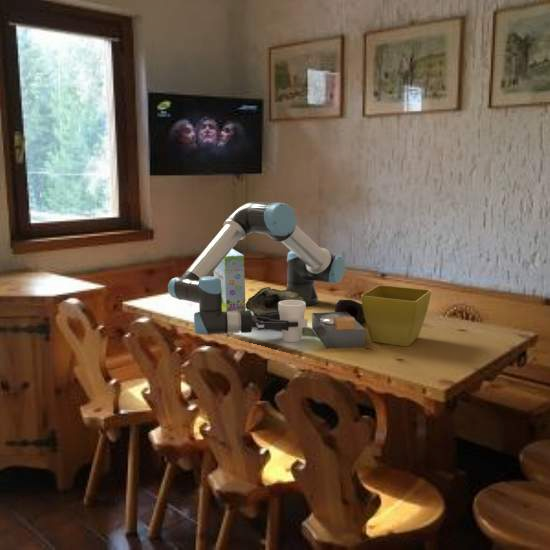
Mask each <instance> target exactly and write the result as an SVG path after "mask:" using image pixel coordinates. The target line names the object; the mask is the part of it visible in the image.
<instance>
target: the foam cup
mask: <svg viewBox="0 0 550 550" xmlns="http://www.w3.org/2000/svg"><path fill="white" fill-rule="evenodd" d="M278 310H279V315H280V320H285V321H288V320H293V319H305V313H306V310H307V307H306V303H305V302H304V301H301V300H283V301H280V302H278ZM303 329H304V327H302V328H289V330H288V331H286V330H281V335H282V340H283V341H284V342H287V343H297V342H300V341H302V336H303Z"/></svg>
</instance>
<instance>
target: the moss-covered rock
mask: <svg viewBox="0 0 550 550" xmlns="http://www.w3.org/2000/svg"><path fill="white" fill-rule="evenodd" d="M283 300H301V301H304V299H303V297H302V296H299V295H298V294H297V292H295V291H291V290H286V289H284V290H283V289H282V290H280V289H276V288H272V287H270V286H268V287H267V286H266V287H263V288H261V289H259V291H257V292H256V293H255V294H254V295H252V296H250V297H249V298H247V301H246V302H245V308H246V311H251V313H252V314H253V315H254V313H264V312H274V311H279V310H278V302H280V301H283Z"/></svg>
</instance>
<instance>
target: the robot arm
mask: <svg viewBox="0 0 550 550" xmlns="http://www.w3.org/2000/svg"><path fill="white" fill-rule="evenodd" d="M253 233H255V234H263V235H266V236H268V237H269V238H270V239H271V240H272V241H274V242H275V243H282V244H283V245H284V246H285V247H286V248H287V249H289V250H290V251H289V252H287V258H286V277H287V279H286V280H287V284H286V288H285V290H291V291H295V292H297V294H298V295H299V296H302V297H303V299H304V302H305V303H306V306H307V307H308V306H313V305H316V304H318V303H319V296H318V293H317V289H316V286H315V281H316V282H322V283H327V284H338V283H339V282H341V280H342V279H343V278H344V275H345V271H346V261H345V259H344V257H343V256H341V255H337V254H336V255H335V254H333V253H332V252H331V251H330V250H328V248H324V247H320V246H319V245H318V244H317V243H316V242H315V241H313V240H312V239H311V238H310V236H309V235H307V234H306V233H305V232H304V231H303V230H302V229H301V228H300V227H299V226H298V225H297V216H296V211H295V210H294V209H293V208H292V207H291V205H289V204H287V203H283V202H279V201H278V202H275V201H274V202H270V201H269V202H268V201H267V202H266V201H250V202H247V203H245V204H243V205H241V206H239V207H238V208H237V209H235V210H234V211H233V212H232V213H231V214H230V215H229V216H228V217H227V218H226V219H225V221H224V222H223V227H221V229H220V231H219V232H218V233H217V234H216V235H215V236H214V238H212V240H211V241H210V242H209V244H208V245H206V247H205V248H204V249H203V250H202V252H201V253H200V254H199V255H198V256H197V258H196V259H195V260H194V261H193V263H192V264H191V265H190V266H189V267H188V268H187V270H186V271H185V272H184V273H183V274H182V275H181V276H177V277H174V278H171V279H170V280H169V282H168V284H167V292H168V294H169V295H170V297H172V298H174V299H177V300H181V301H187V302H192V303H196V304H199V309H198V310H199V311H198V312H195V313H194V314H193V321H194V323H193V326H194V327H193V328H194V333H195V334H196V335H207V336H208V335H220V334H221V335H222V334H229V335H231V336H232V335H233V334H239V333H242V334H243V333H244V334H246V333H249V334H250V333H251V332H252V331H253V328H257V330H258V331H263V330H264V331H266V330H271V331H273V330H274V331H275V330H276V331H282V330H286V331H288V330H289V328H302V327H303V328H308V321H309V320H308V318H304V319H293V320H288V321H285V320H280V315H279V311H274V312H264V313H254V314H253V313H252V311H250V310H246V311H240V312H238V311H227V312H226V311H225V312H223V311H222V288H221V280H220V278H218V277H215V276H214V275H212V274H214V270H215V269H216V268H217V266H218V265H219V264H220V263H221V262H222V260H223V259H224V258H225V257H226V255H227V254H228V253H229V252H230V251H231V249H234V247H235V246H236V245H237V243H238V242H239V241H242V240H244V239H245V238H246V237H247V235H250V234H253ZM211 275H212V276H211ZM252 314H253V315H252Z"/></svg>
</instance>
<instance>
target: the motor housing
mask: <svg viewBox="0 0 550 550" xmlns="http://www.w3.org/2000/svg"><path fill="white" fill-rule="evenodd" d="M311 329H312V331H313V332H314V334H315V335H316V336H317V338H318V339H319V341H320V342H321V343H322V344H323V346H324V348H326V349H344V348H365V346H366V342H365V341H366V329H365V328H364V327H363V326H362V325H361V324H360V323H358V322H357V321H356V320H355V318H354V317H352V316H351V315H350V314H349V313H348V312H335V311H331V312H330V311H329V312H311Z"/></svg>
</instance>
